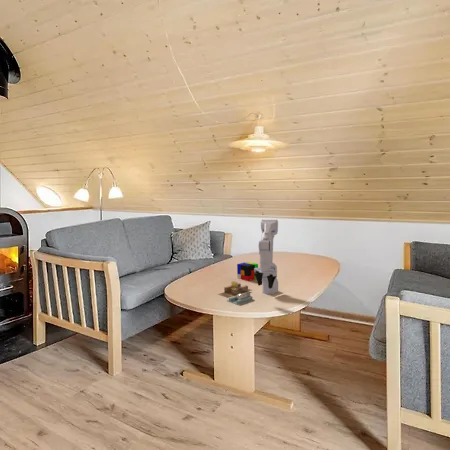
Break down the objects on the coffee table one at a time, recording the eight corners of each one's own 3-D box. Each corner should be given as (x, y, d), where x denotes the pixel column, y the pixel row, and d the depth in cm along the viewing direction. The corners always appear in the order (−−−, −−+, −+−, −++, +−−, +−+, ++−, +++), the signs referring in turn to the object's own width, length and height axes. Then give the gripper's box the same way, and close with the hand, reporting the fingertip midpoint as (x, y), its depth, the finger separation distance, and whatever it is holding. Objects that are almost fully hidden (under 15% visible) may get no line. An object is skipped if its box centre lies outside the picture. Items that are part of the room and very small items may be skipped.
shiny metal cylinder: (245, 296, 210) (246, 290, 208) (249, 299, 207) (250, 293, 206) (235, 299, 204) (236, 293, 203) (239, 302, 202) (240, 296, 201)
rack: (242, 297, 212) (242, 293, 212) (254, 301, 205) (254, 297, 205) (226, 302, 205) (226, 297, 204) (239, 306, 197) (239, 302, 197)
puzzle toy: (237, 278, 252) (237, 264, 251) (247, 275, 259) (247, 261, 258) (247, 281, 245) (247, 266, 244) (258, 278, 252) (258, 263, 251)
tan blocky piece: (233, 291, 221) (233, 281, 220) (237, 292, 219) (237, 282, 218) (229, 292, 219) (229, 282, 218) (234, 293, 217) (233, 283, 216)
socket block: (241, 288, 230) (241, 282, 229) (252, 291, 223) (252, 285, 222) (217, 295, 216) (217, 288, 216) (227, 299, 210) (227, 292, 209)
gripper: (250, 261, 202) (250, 285, 203) (270, 265, 191) (270, 291, 193) (259, 259, 206) (259, 282, 208) (279, 263, 196) (279, 288, 197)
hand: (265, 286), depth 201 cm, fingers open, 7 cm apart
